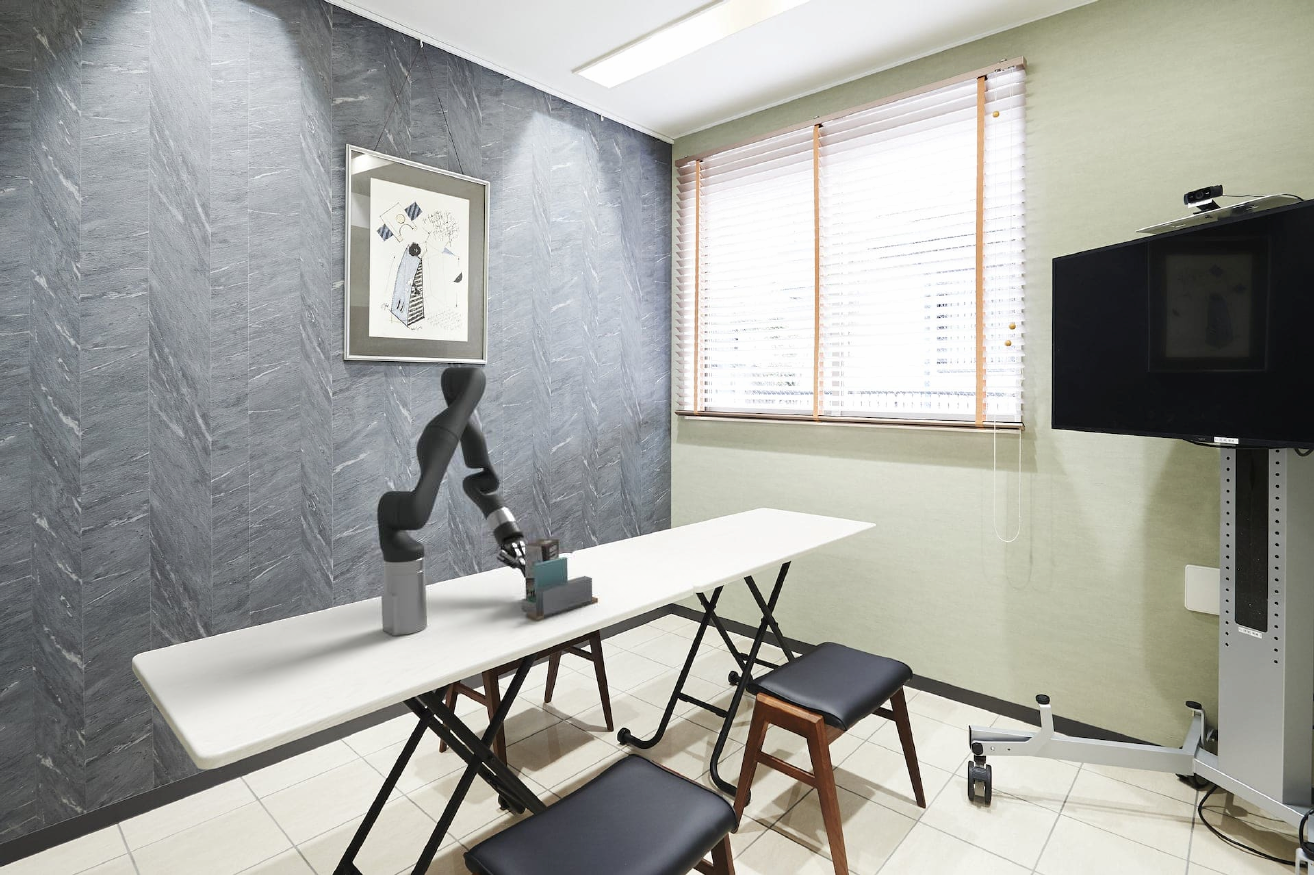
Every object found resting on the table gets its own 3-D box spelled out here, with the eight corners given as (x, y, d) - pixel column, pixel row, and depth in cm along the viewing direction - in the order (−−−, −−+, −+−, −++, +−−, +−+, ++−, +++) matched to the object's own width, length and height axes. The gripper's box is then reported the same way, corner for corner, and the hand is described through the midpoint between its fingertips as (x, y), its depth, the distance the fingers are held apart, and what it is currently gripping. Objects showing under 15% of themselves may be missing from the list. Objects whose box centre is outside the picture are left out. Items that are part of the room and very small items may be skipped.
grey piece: (537, 621, 160) (536, 593, 160) (514, 612, 167) (514, 586, 167) (598, 602, 175) (597, 576, 175) (575, 594, 181) (574, 570, 181)
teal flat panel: (529, 605, 167) (528, 566, 166) (526, 604, 167) (525, 566, 167) (567, 594, 176) (567, 557, 175) (565, 593, 176) (564, 556, 176)
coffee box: (547, 606, 172) (545, 546, 171) (525, 604, 174) (523, 544, 173) (561, 596, 181) (559, 538, 180) (539, 594, 182) (538, 537, 181)
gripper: (489, 523, 179) (516, 575, 172) (528, 516, 189) (556, 565, 182) (479, 539, 183) (505, 590, 176) (518, 531, 193) (544, 580, 186)
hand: (531, 577), depth 179 cm, fingers closed
